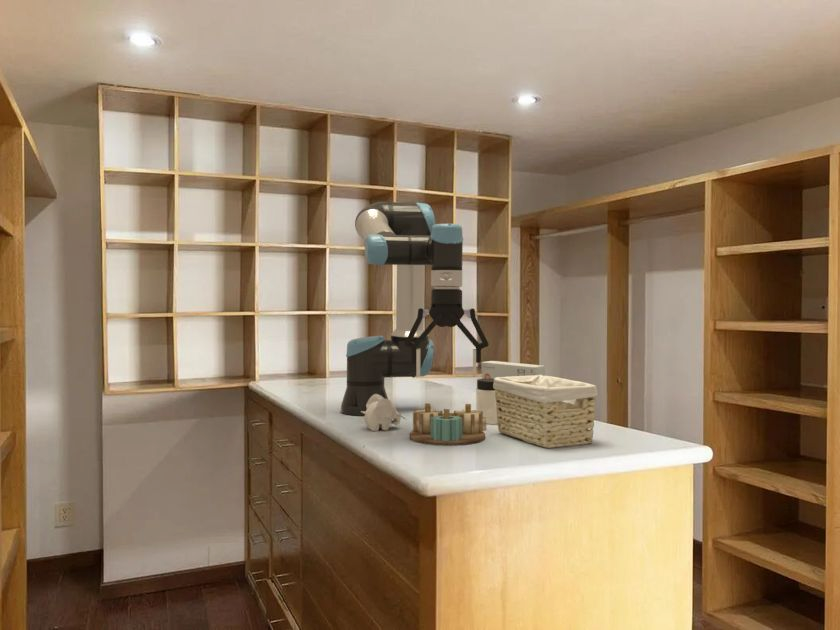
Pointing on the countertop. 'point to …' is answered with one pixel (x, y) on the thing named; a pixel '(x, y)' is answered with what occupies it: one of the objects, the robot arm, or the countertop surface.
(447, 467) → the countertop surface
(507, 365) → the skincare box
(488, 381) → the jar
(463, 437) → the carrier
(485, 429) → the stand
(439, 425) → the gear
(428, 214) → the robot arm
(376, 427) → the elephant figurine
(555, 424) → the storage basket
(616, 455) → the countertop surface
